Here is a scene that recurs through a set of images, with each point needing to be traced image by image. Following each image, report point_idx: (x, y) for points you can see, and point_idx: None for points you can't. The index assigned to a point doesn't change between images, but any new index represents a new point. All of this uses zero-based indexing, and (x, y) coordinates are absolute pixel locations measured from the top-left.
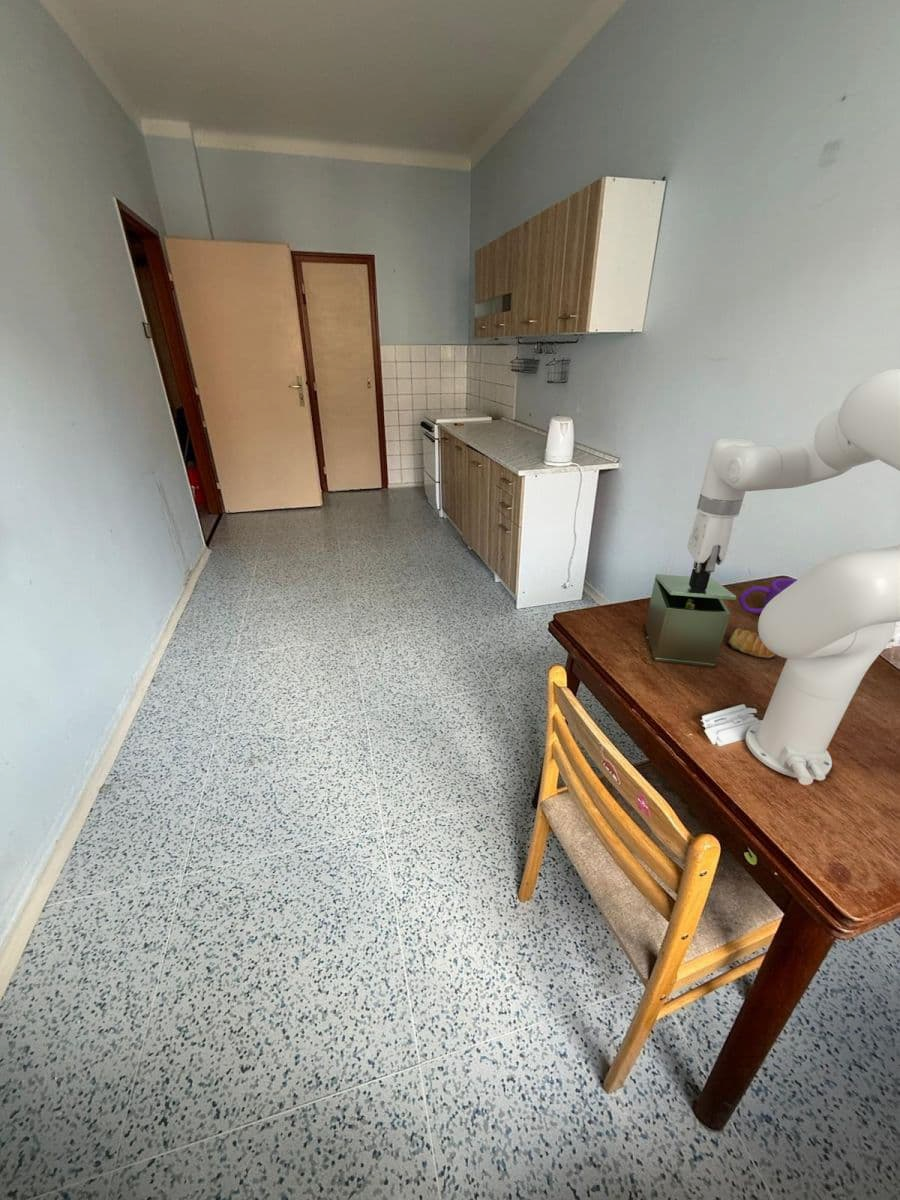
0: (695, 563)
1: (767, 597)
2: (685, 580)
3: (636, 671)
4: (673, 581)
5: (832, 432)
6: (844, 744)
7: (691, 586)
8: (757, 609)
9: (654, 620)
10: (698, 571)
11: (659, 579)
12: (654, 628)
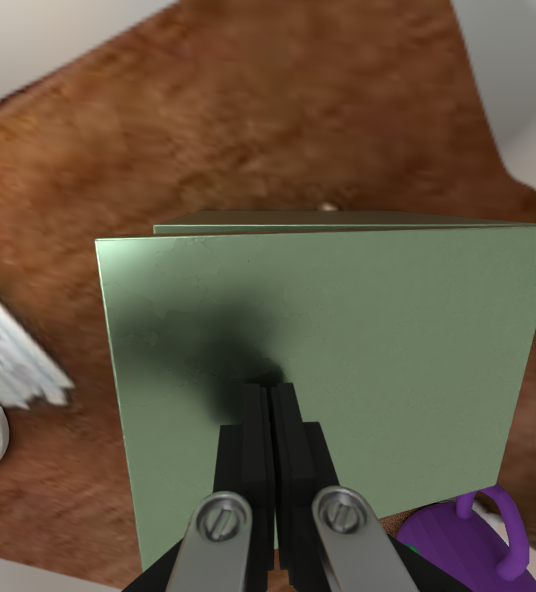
0: (323, 548)
1: (488, 552)
2: (438, 371)
3: (128, 147)
4: (404, 303)
5: None
6: (10, 513)
7: (244, 393)
8: (465, 505)
9: (312, 214)
10: (189, 526)
11: (460, 227)
12: (283, 213)
